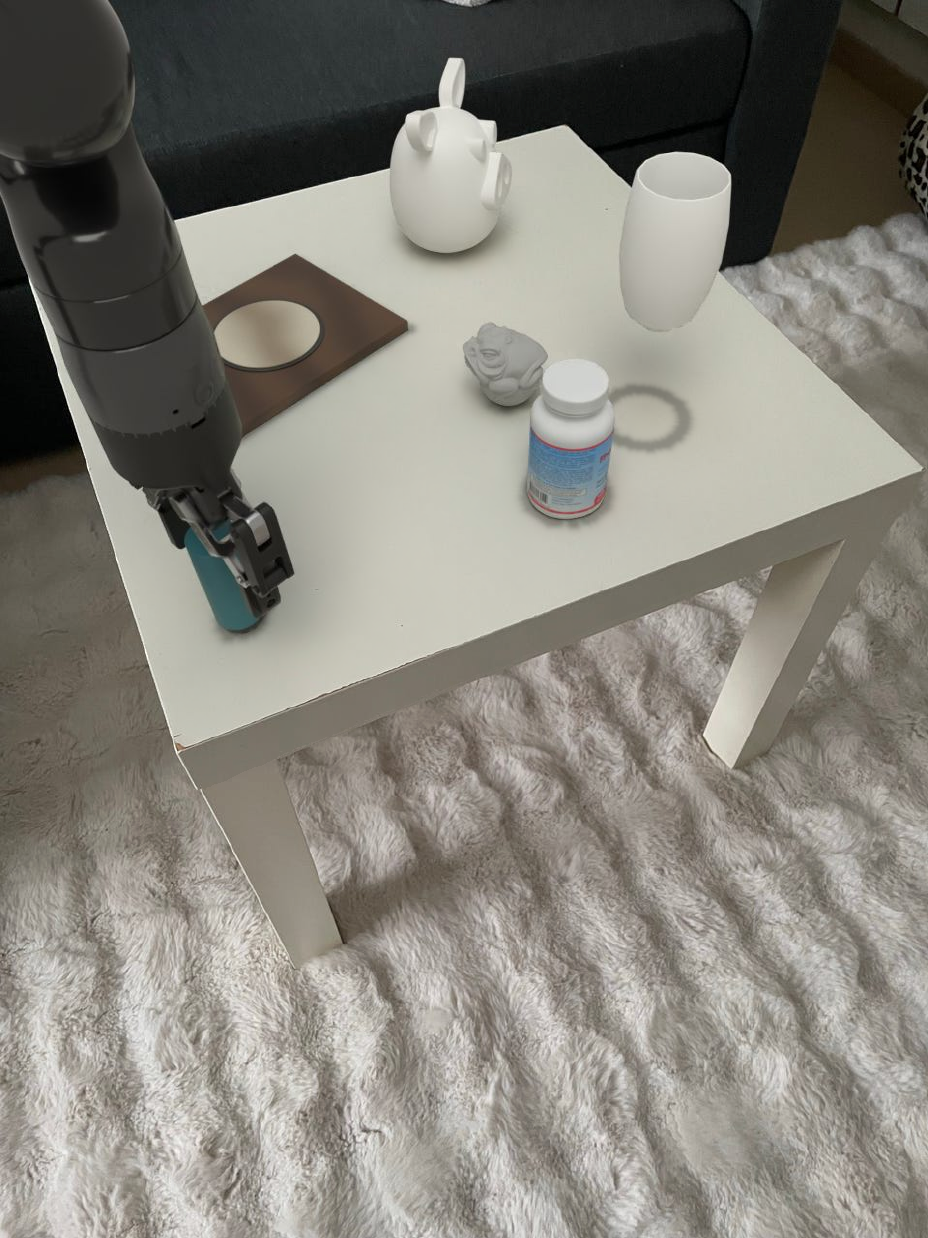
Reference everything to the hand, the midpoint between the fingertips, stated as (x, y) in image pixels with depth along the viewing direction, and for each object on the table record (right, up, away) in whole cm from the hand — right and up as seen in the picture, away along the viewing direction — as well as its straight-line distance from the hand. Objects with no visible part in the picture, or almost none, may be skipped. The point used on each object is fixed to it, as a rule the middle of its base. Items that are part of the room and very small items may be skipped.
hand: (226, 573), depth 61 cm
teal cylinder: (0, -3, +4) cm, 5 cm away
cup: (+31, +14, +16) cm, 37 cm away
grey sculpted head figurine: (+19, +16, +18) cm, 30 cm away
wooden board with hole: (-2, +22, +23) cm, 32 cm away
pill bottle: (+24, +7, +11) cm, 27 cm away
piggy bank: (+15, +35, +32) cm, 50 cm away
